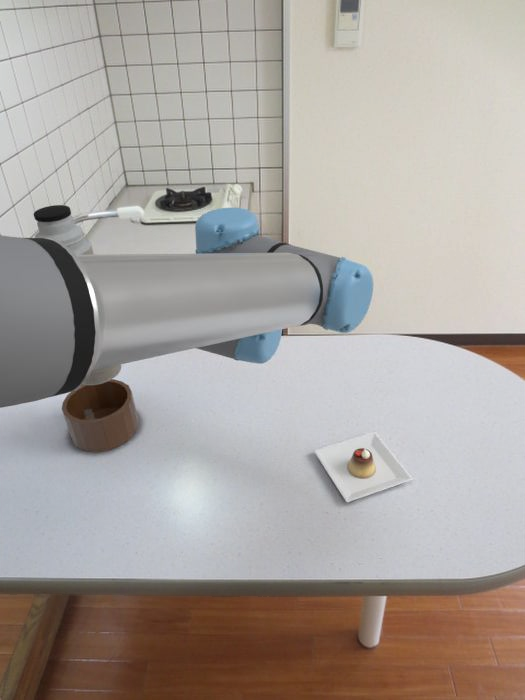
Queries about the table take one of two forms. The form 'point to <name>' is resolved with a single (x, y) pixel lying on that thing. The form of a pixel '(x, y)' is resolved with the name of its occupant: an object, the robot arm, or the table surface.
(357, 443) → the dessert
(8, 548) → the table surface
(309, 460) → the table surface
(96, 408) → the bottle holder
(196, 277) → the robot arm
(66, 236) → the thermos bottle
